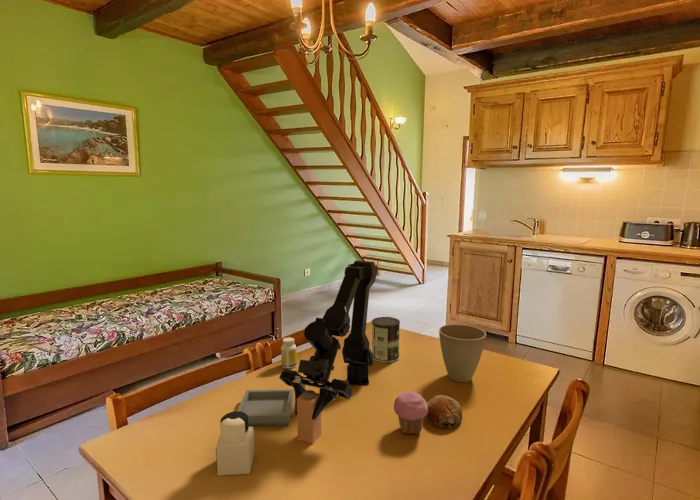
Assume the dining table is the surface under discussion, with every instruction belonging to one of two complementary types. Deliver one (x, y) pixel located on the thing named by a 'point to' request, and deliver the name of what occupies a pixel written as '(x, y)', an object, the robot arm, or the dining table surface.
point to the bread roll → (444, 412)
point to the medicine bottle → (235, 445)
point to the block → (308, 417)
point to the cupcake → (410, 411)
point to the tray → (267, 407)
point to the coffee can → (385, 339)
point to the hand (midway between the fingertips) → (304, 417)
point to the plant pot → (461, 350)
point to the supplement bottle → (288, 353)
